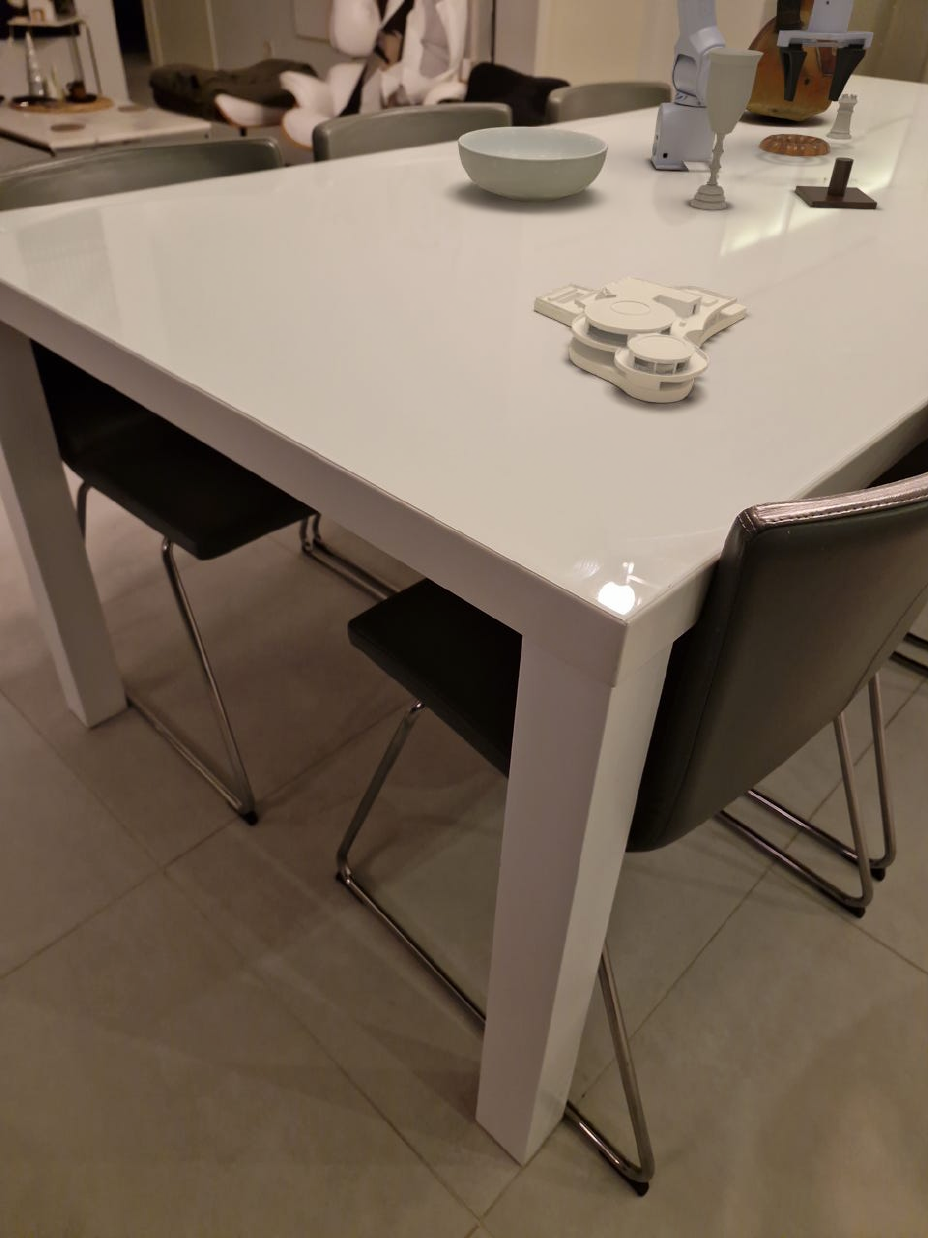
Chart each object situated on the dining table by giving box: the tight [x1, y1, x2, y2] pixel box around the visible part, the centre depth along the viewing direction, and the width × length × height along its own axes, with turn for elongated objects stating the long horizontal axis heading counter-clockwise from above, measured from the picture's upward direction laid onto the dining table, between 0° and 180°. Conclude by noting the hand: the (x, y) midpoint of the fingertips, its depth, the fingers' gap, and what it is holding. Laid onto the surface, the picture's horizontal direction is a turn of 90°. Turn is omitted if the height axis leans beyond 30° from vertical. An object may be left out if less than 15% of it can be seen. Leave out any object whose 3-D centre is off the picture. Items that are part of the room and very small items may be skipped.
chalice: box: [689, 48, 763, 211], centre depth 115 cm, size 7×7×18 cm
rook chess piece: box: [826, 93, 859, 141], centre depth 152 cm, size 4×4×8 cm
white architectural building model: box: [533, 276, 748, 404], centre depth 80 cm, size 23×25×4 cm
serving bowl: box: [457, 126, 609, 203], centre depth 121 cm, size 21×21×7 cm
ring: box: [758, 133, 831, 158], centre depth 145 cm, size 11×11×3 cm
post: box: [794, 156, 878, 210], centre depth 122 cm, size 9×9×5 cm
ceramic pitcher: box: [745, 0, 840, 122], centre depth 166 cm, size 20×20×30 cm
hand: (810, 100), depth 138 cm, fingers open, 7 cm apart
